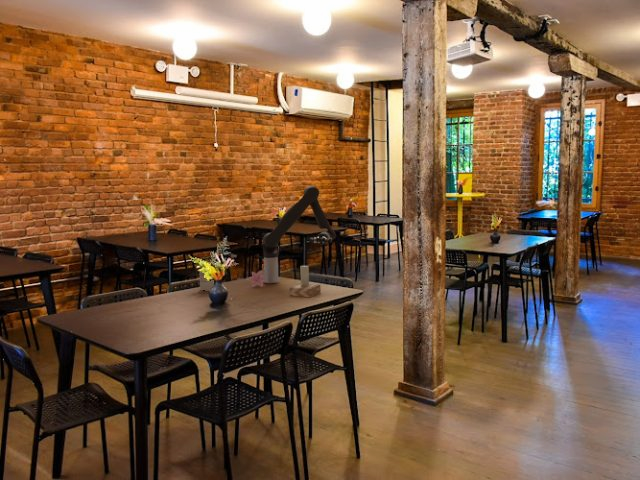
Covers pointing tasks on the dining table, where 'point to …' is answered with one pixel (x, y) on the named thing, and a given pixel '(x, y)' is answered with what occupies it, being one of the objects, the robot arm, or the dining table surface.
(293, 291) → the birch plinth
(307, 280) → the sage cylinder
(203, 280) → the supplement box
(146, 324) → the dining table surface
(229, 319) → the dining table surface
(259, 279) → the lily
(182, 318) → the dining table surface
